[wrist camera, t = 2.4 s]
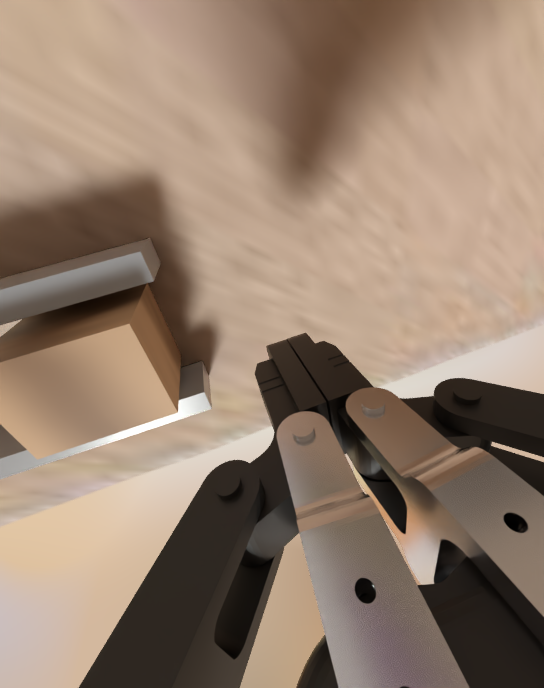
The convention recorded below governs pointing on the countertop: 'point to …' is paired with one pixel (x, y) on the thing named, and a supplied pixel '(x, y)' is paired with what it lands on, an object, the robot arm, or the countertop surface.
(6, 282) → the chute
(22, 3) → the countertop surface
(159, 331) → the light brown block
